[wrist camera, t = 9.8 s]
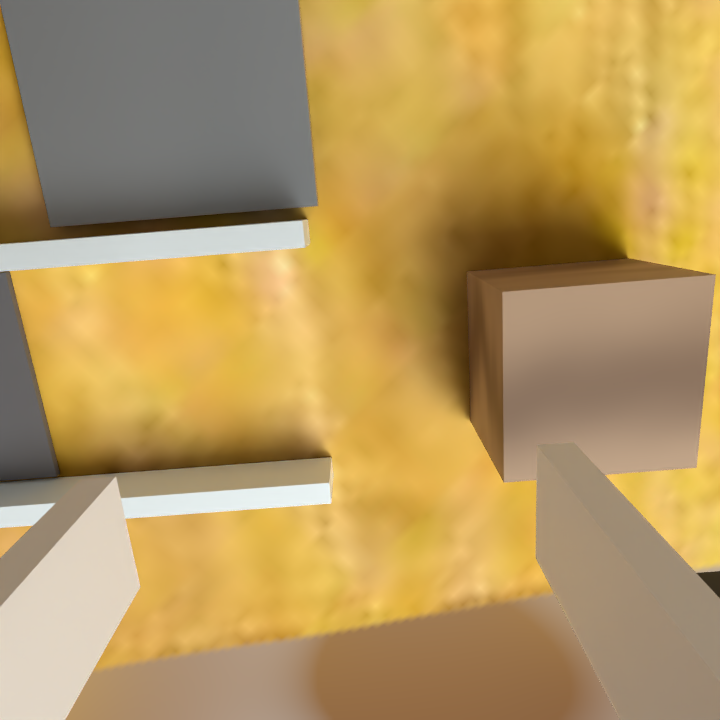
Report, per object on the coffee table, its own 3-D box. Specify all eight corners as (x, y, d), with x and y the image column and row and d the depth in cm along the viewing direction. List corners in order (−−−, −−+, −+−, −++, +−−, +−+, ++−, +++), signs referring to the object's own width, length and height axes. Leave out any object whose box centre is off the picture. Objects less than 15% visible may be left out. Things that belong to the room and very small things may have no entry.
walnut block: (466, 271, 24) (502, 291, 18) (627, 258, 24) (715, 274, 18) (470, 420, 26) (503, 482, 20) (618, 408, 25) (696, 467, 20)
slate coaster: (-11, -82, 20) (-21, -91, 19) (289, -108, 20) (286, -117, 19) (58, 226, 23) (50, 227, 22) (318, 205, 23) (317, 205, 22)
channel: (-138, 254, 23) (-267, 266, 18) (308, 219, 23) (295, 222, 18) (-57, 505, 26) (-149, 571, 22) (333, 476, 26) (328, 536, 21)
